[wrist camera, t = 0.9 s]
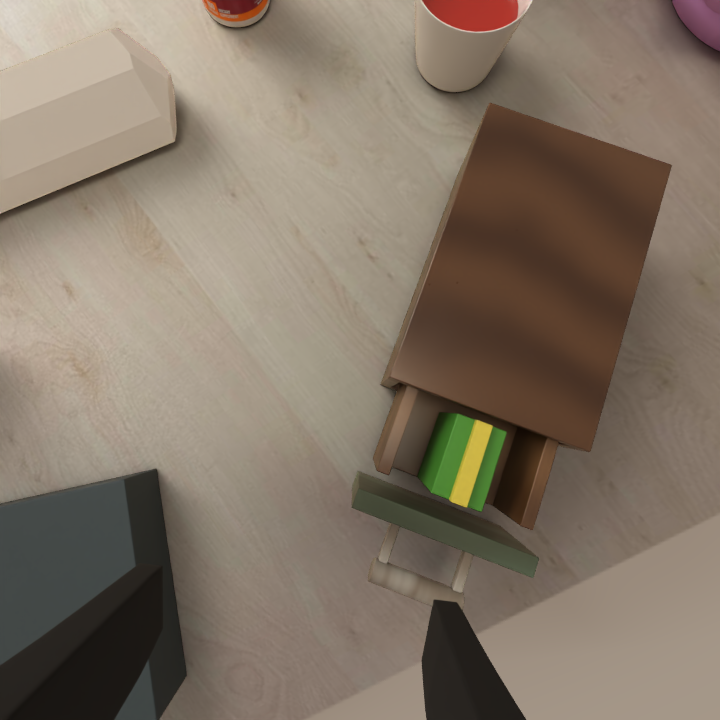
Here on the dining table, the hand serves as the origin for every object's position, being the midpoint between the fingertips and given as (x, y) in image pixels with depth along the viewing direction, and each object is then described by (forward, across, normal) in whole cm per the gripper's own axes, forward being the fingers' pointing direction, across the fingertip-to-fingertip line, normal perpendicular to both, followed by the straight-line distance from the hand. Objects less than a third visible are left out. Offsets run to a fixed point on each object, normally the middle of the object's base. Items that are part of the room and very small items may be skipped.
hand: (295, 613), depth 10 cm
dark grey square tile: (+14, +17, +16) cm, 28 cm away
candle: (+31, -6, -29) cm, 43 cm away
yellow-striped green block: (+17, -8, +3) cm, 19 cm away
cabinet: (+23, -11, -8) cm, 27 cm away
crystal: (+26, +27, -16) cm, 41 cm away
